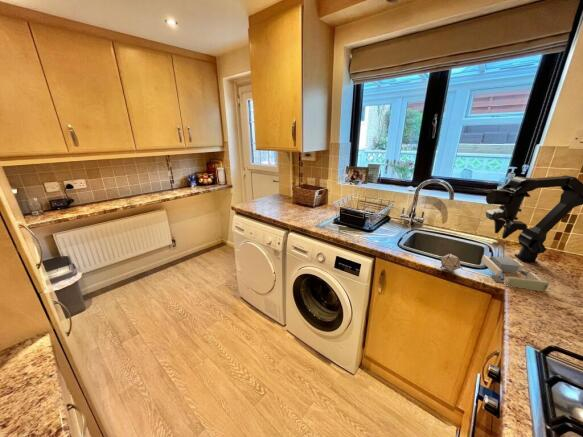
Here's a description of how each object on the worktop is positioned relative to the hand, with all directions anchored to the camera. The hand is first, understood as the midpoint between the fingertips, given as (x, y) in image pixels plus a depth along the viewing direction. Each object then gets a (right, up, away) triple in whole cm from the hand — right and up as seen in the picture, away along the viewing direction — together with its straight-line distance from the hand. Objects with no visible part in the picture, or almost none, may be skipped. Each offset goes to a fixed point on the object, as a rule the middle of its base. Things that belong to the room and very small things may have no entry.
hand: (499, 235), depth 113 cm
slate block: (-2, -15, -4) cm, 16 cm away
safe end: (-5, -20, -18) cm, 27 cm away
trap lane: (-3, -17, -9) cm, 19 cm away
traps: (-4, -17, -11) cm, 21 cm away
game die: (-29, -15, -7) cm, 34 cm away
